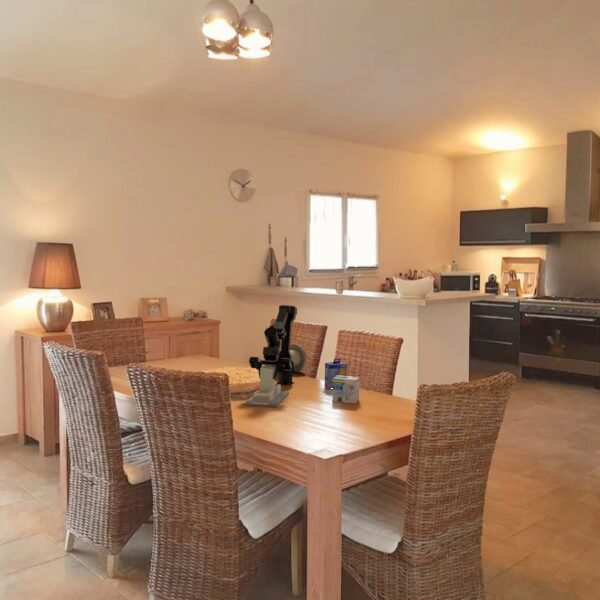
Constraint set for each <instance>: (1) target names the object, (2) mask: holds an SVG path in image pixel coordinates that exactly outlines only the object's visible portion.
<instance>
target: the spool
mask: <svg viewBox="0 0 600 600" xmlns="http://www.w3.org/2000/svg"><path fill="white" fill-rule="evenodd" d="M280 351H281V348H280V350H279V353H280ZM290 353H291V355H292V357H293V359H292V360H293V362H294V366H295V372H296V373H297V372H301V371H303V370H304V369H305V367H306V364H307V354H306V351H305V349H304V346H302V345H300V344H298V343H292V344H290ZM265 366H269V367H275V370H276V366H274V365H265Z"/></svg>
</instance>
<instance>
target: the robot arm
mask: <svg viewBox="0 0 600 600" xmlns="http://www.w3.org/2000/svg"><path fill="white" fill-rule="evenodd" d="M297 315H298V308H297V307H296V305H289V304H280V305H279V306H278V313H277V316H276V319H275V322H274V323H273V324H271V325H269V327H267V328H266V329H265V330H264V332H263V333H264V338H265V340H266V343H267V346H263V349H262V355H263V357H262V358H263V359H261V358H260V357H259V356H250V357H249V359H248V362H249V365H250V368H251V369H256V370H257V372H258V378H259V379H260V368H261V367H263V365H265V366H266V365H274V366H276V370H275V373H274V378H273V379H274V380H275V384H278V383H279V384H280V385H283V384H284V386H286V385H287V384H288V385H291V383H292V384H294V383H295V381H293V373H294V372H296V371H295V366H294V362H293V360H292V359H293V357H292V355H291V353H290V345H291V342H292V340H291V339H292V329H293V322H295V320H296V319H297V318H296V317H297ZM280 349H281V351H280V353H279V350H280ZM277 377H278V378H277ZM276 379H278V380H277V381H276Z"/></svg>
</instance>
